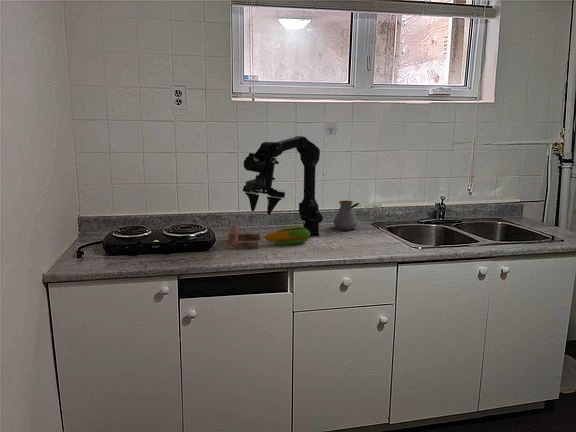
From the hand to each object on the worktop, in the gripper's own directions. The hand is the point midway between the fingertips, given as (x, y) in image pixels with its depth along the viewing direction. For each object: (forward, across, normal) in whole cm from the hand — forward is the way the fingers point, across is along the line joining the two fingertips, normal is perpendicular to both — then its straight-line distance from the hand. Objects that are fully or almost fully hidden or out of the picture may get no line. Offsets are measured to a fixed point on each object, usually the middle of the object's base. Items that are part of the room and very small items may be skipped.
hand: (260, 212), depth 192 cm
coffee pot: (+4, +7, +52) cm, 53 cm away
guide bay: (+14, -10, +4) cm, 18 cm away
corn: (+12, +2, +16) cm, 20 cm away
